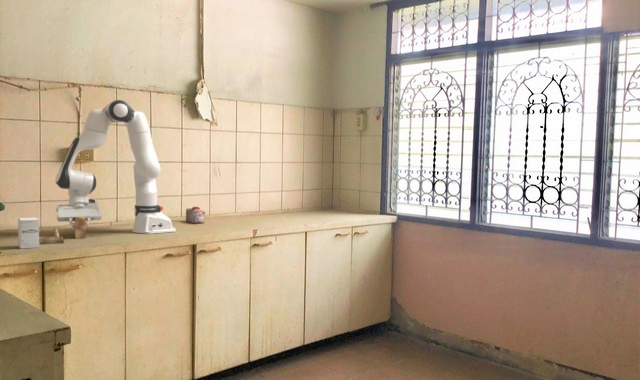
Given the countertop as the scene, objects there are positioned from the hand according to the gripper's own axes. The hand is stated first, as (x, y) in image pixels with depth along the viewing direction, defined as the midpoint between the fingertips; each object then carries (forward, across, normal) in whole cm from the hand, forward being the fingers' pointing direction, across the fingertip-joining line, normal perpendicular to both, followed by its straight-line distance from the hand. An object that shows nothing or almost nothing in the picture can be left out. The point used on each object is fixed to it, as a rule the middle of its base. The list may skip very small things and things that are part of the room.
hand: (80, 226), depth 258 cm
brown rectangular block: (+3, 0, +4) cm, 5 cm away
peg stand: (+8, -15, -1) cm, 17 cm away
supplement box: (+17, -22, -9) cm, 29 cm away
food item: (-20, +66, +29) cm, 75 cm away
